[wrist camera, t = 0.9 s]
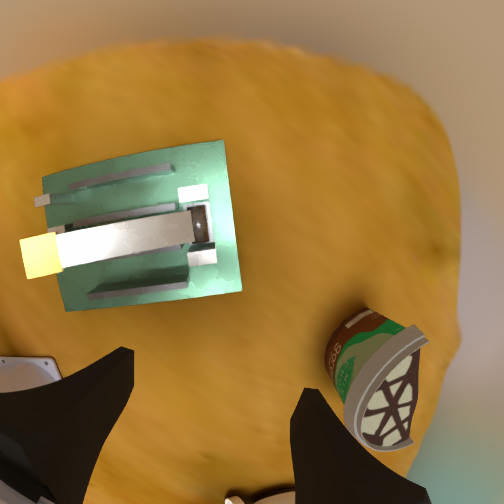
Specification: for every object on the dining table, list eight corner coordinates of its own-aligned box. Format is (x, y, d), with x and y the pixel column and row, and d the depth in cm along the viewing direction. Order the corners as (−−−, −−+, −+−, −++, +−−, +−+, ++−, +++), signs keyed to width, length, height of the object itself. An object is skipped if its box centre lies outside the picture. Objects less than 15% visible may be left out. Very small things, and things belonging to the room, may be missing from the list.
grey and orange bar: (201, 205, 20) (207, 204, 19) (206, 240, 21) (212, 241, 20) (24, 238, 15) (19, 240, 14) (31, 275, 15) (27, 279, 14)
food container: (305, 310, 27) (351, 366, 17) (366, 293, 27) (430, 334, 17) (318, 409, 29) (352, 474, 19) (369, 392, 29) (413, 446, 20)
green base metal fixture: (223, 142, 23) (226, 126, 18) (241, 287, 25) (248, 310, 20) (47, 177, 21) (12, 174, 16) (70, 308, 24) (42, 331, 18)
